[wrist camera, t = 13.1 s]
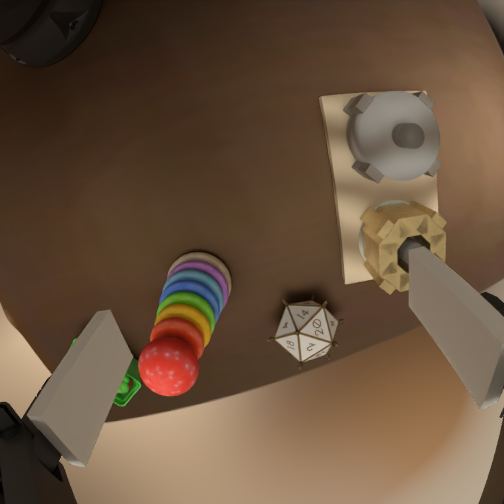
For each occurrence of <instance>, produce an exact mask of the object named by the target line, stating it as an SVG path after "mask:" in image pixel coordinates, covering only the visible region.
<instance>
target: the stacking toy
mask: <svg viewBox="0 0 504 504" xmlns="http://www.w3.org/2000/svg"><path fill="white" fill-rule="evenodd" d="M230 292H231V277H230V274H229V271H228V269H227V268H226V266H225V265H224V264H223V263H222V262H221V261H220V260H219V259H217V258H216V257H214V256H212V255H210V254H207V253H202V252H193V253H188V254H185V255H183V256H181V257H180V258H178V259H177V260H176V261H175V262H174V263H173V264H172V266H171V267H170V269H169V272H168V276H167V281H166V283H165V285H164V287H163V291H162V294H161V297H160V301H159V307H158V310H157V317H156V320H155V326H154V328H153V329H152V332H151V335H150V342H149V343H148V344H147V345H146V346H145V347H144V349H143V350H142V352H141V354H140V357H139V362H138V368H139V373H140V376H141V378H142V380H143V382H144V383H145V385H146V386H147V387H148V388H150V389H151V390H152V391H154V392H155V393H157V394H160V395H164V396H177V395H180V394H183V393H185V392H186V391H188V390H189V389H190V388H191V387H192V386H193V385H194V383H195V382H196V379H197V377H198V373H199V363H198V359H199V358H200V357H201V355H202V353H203V350H204V348H205V347H206V345H207V344H208V343H209V340H210V338H211V334H212V332H213V330H214V327H215V324H216V322H217V321H218V318H219V315H220V313H221V311H222V309H223V308H224V307H225V305H226V303H227V300H228V297H229V295H230Z"/></svg>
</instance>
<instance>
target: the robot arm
mask: <svg viewBox="0 0 504 504" xmlns="http://www.w3.org/2000/svg"><path fill="white" fill-rule="evenodd" d="M100 6H101V0H0V48H2V49H3V50H4V51H5V52H6V53H8V54H10V56H11V57H12V58H13V59H14V60H15V61H16V62H18V63H20V64H22V65H26V66H31V67H45V66H49V65H52V64H54V63H56V62H58V61H60V60H62V59H63V58H65V57H66V56H67V55H69V54H70V53H71V52H72V51H73V50H74V49H75V48H77V46H78V45H79V44H80V43H81V42H82V41H83V40H84V38H85V37H86V36H87V34H88V33H89V31H90V30H91V28H92V27H93V25H94V23H95V21H96V19H97V16H98V13H99V10H100ZM409 307H410V308H411V309H412V311H413V312H414V313H415V315H416V316H417V317H418V319H419V320H420V322H421V323H422V324H423V326H424V327H425V328H426V330H427V331H428V333H429V334H430V335H431V337H432V338H433V339H434V341H435V342H436V344H437V345H438V347H439V348H440V349H441V351H442V352H443V354H444V355H445V356H446V358H447V360H448V361H449V363H450V364H451V365H452V367H453V368H454V370H455V371H456V373H457V374H458V376H459V377H460V379H461V380H462V382H463V384H464V385H465V387H466V388H467V390H468V391H469V393H470V395H471V396H472V398H473V399H474V401H475V402H476V404H477V406H478V407H479V409H480V410H482V409H484V408H486V407H488V406H490V405H492V404H494V403H496V402H498V401H499V399H500V396H501V394H502V391H503V389H504V303H503V302H502V301H501V300H500V299H499V298H498V297H496V296H494V295H492V294H489V293H487V292H484V293H481V294H479V293H478V292H477V291H476V290H475V289H474V288H472V287H471V286H470V285H469V284H468V283H467V282H466V281H465V280H463V279H462V278H461V277H460V276H459V275H458V274H457V273H455V272H454V271H453V270H452V269H451V268H450V267H448V266H447V265H446V264H445V263H444V262H443V261H441V260H440V259H439V258H438V257H437V256H435V255H434V254H433V253H432V252H430V251H429V250H428V249H427V248H426V247H424V246H423V247H419V248H414V249H410V250H409ZM132 359H133V355H132V354H131V352H130V350H129V348H128V346H127V344H126V342H125V340H124V338H123V336H122V334H121V332H120V330H119V328H118V325H117V323H116V321H115V319H114V317H113V315H112V313H111V310H105V311H98V312H96V314H95V315H94V316H93V318H92V319H91V320H90V322H89V323H88V324H87V326H86V327H85V329H84V330H83V331H82V333H81V334H80V335H79V337H78V338H77V340H76V341H75V342H74V344H73V345H72V347H71V348H70V350H69V351H68V352H67V354H66V355H65V357H64V358H63V360H62V361H61V363H60V364H59V366H58V367H57V368H56V370H55V371H54V373H53V374H52V375H51V376H50V377H49V378H48V379H47V380H46V381H45V383H44V384H43V386H42V388H41V390H40V391H39V392H38V394H37V397H35V398H34V400H33V402H32V403H31V405H30V406H29V408H28V410H27V411H26V413H25V414H24V416H23V417H22V419H20V417H19V416H18V415H17V413H16V412H15V411H14V409H13V408H12V407H11V406H10V404H9V403H7V402H0V504H77V502H76V499H75V497H74V494H73V492H72V489H71V486H70V483H69V481H68V478H67V475H66V472H65V469H64V467H63V465H62V464H61V463H60V462H59V460H60V458H61V455H62V456H63V457H64V458H65V459H66V460H67V461H68V462H69V463H70V464H71V465H77V466H82V467H86V466H87V463H88V460H89V458H90V456H91V453H92V451H93V448H94V446H95V444H96V441H97V438H98V436H99V434H100V431H101V429H102V426H103V424H104V422H105V419H106V417H107V415H108V412H109V410H110V408H111V405H112V403H113V401H114V399H115V396H116V394H117V392H118V390H119V387H120V385H121V383H122V381H123V378H124V376H125V374H126V372H127V370H128V367H129V365H130V363H131V361H132ZM503 415H504V408H503V411H502V412H501V415H500V418H502V417H503V421H502V426H501V431H500V435H499V439H498V443H497V447H496V451H495V455H494V458H493V462H492V465H491V469H490V472H489V475H488V478H487V481H486V484H485V487H484V490H483V493H482V496H481V498H480V501H479V504H504V416H503Z"/></svg>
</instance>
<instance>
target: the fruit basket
mask: <svg viewBox="0 0 504 504" xmlns="http://www.w3.org/2000/svg"><path fill="white" fill-rule="evenodd" d="M76 340H77V338H76V339H74V341H73V343H72V345H73V344H74V342H75V341H76ZM72 345H71V347H72ZM71 347H70V348H71ZM69 350H70V349H69ZM138 362H139V361H138V360H136V359H135V358H133V359H132V361H131V363H130V365H129V367H128V370H127V372H126V374H125V376H124V378H123V381H122V383H121V385H120V387H119V390H118V392H117V394H116V396H115V399H114V401H113V402H114V403H116V404H117V405H119V406H125V405H126V404H127V402H128V401H129V400H130V399H131V397H132V396H133V395H134V394H135V393H136V392H137V391H138V390H139V388H140V387H141V380H140V373H139V368H138Z"/></svg>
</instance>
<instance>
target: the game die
mask: <svg viewBox="0 0 504 504" xmlns="http://www.w3.org/2000/svg"><path fill="white" fill-rule="evenodd" d="M310 299H311V300H310V301H304V302H298V303H292V304H288V303H287V301H286V300H284V299H282V303H283V304H284V305H286V306H285V309H284V312H283V314H282V317H280V318H281V320H280V322H279V325H278V328H277V330H276V333H275V335H274V337H273V338H269V339H268V340H267V341H269V342H271V341H273V340H275V341H276V342H277V343H278V344H279V345H280V346H281V347H282V348H284V349H285V350H286V351H287V352H288V353H289V355H290V356H293V357H294V358H295V359H296V360H297V361H299V362H300V363H299V366H298V367H299V370H300V369H301V368H302V366H303V364H302V363H303V362H306V361H309V360H312V359H315V358H318V357H321V356H324V355H325V357H326V359H330V356H329V355H328V354H327V353H328V351H329V349H330V348H331V346H332V345H333V346H335V347H336V346H338V344H337V342H334V339H335V335H336V332H337V328H338V325H339V323H343V322H344V321H345V320H344V319H340V320H339V321H338V320H337V319H336V318H335V317H334V316H333V315H332V314H331V313H330V312H329V311H328V310H327V309H326V308H325V306H326V305H327V301H324V302H323V303H322V305H321V304H319V303H317V302H315V301H314V299H315V296H314V295H312V296H311V298H310Z"/></svg>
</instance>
